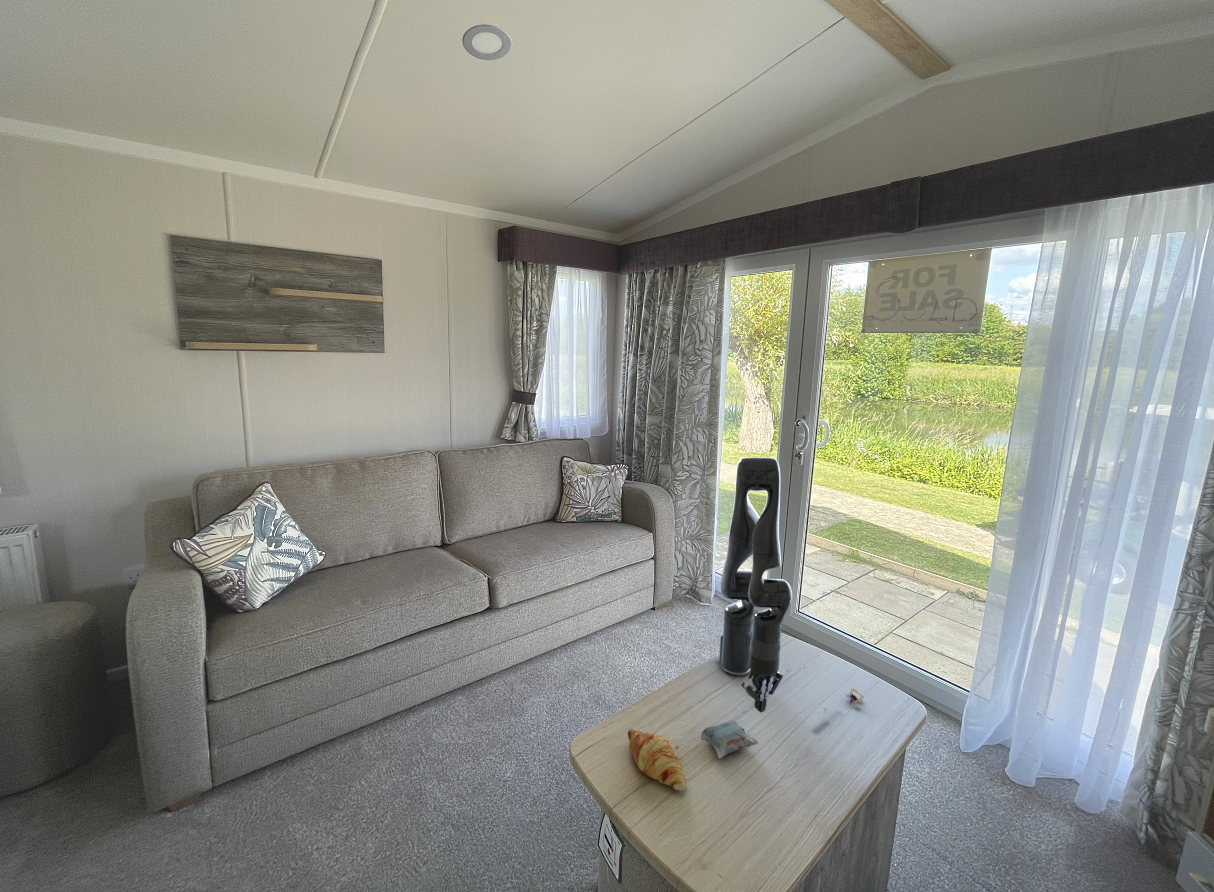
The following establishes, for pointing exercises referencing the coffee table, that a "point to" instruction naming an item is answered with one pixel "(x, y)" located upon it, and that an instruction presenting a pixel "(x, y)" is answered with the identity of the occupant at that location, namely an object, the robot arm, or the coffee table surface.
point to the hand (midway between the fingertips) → (759, 709)
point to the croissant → (656, 759)
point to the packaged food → (727, 738)
